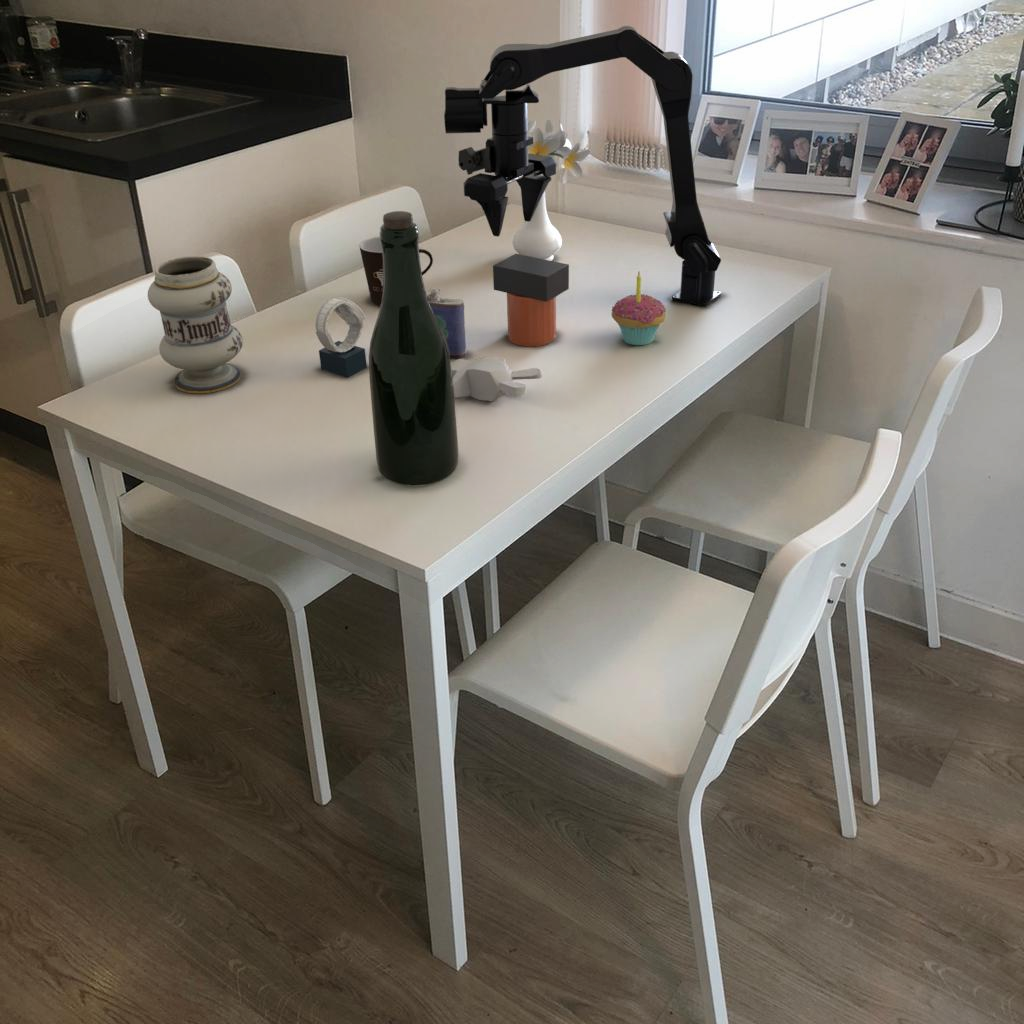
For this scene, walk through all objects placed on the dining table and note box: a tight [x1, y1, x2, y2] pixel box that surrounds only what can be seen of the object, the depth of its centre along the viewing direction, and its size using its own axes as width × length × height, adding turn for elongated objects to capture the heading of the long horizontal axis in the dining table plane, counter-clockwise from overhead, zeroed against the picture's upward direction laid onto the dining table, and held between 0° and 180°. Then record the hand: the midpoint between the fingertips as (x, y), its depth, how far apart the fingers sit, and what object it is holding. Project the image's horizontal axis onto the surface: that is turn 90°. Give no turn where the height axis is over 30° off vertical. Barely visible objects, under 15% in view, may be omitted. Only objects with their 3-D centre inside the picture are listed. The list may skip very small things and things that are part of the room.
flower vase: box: [512, 119, 591, 261], centre depth 198 cm, size 13×18×25 cm
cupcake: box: [611, 271, 667, 346], centre depth 168 cm, size 9×8×12 cm
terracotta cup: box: [506, 293, 557, 347], centre depth 171 cm, size 8×8×8 cm
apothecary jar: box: [147, 255, 244, 395], centre depth 158 cm, size 12×12×18 cm
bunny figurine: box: [451, 356, 543, 402], centre depth 155 cm, size 10×5×15 cm
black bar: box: [492, 253, 570, 302], centre depth 168 cm, size 6×10×4 cm, turn 55°
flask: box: [427, 286, 467, 359], centre depth 166 cm, size 9×3×11 cm, turn 68°
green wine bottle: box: [368, 210, 459, 487], centre depth 129 cm, size 10×10×33 cm
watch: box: [315, 296, 368, 378], centre depth 162 cm, size 6×8×11 cm
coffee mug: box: [358, 236, 434, 307], centre depth 185 cm, size 12×9×10 cm
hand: (512, 228), depth 179 cm, fingers open, 9 cm apart
